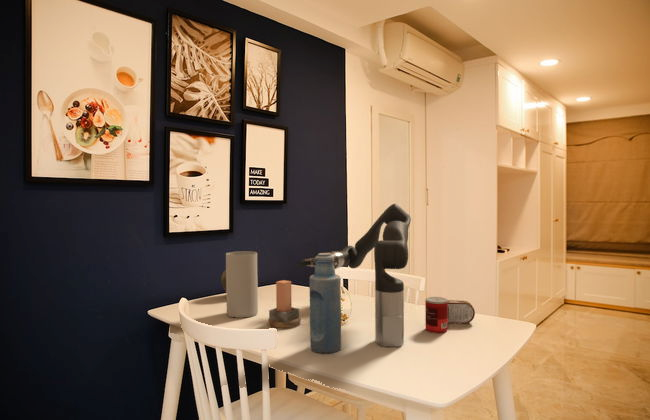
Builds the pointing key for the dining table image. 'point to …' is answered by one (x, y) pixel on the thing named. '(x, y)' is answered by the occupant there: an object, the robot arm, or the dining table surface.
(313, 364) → the dining table surface
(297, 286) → the dining table surface
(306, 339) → the dining table surface
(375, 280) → the robot arm
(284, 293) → the post
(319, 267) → the bottle
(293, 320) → the block holder stand
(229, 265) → the cylinder vase
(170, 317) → the dining table surface
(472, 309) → the tin
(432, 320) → the canned food
